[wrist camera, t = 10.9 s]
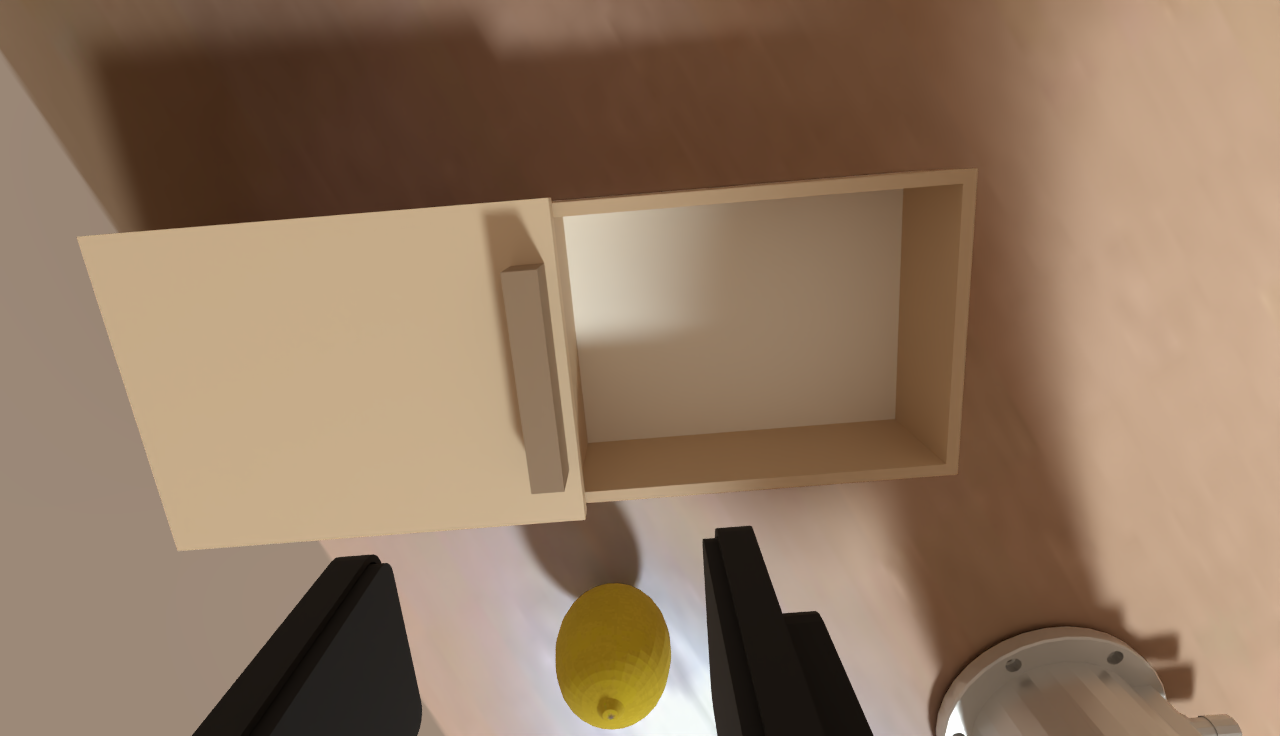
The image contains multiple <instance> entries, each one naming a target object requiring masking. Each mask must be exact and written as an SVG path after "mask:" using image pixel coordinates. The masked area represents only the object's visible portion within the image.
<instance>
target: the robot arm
mask: <svg viewBox="0 0 1280 736" xmlns="http://www.w3.org/2000/svg"><path fill="white" fill-rule="evenodd" d="M703 560H704V577H705V594H706V611H707V628H708V645H709V662H710V679H711V692H712V701H713V709H714V716H715V722H716V729H717V735H718V736H873V733H872V731H871V729H870V727H869V724H868V722H867V720H866V717H865V715H864V713H863V711H862V708H861V706H860V704H859V701H858V699H857V697H856V695H855V692H854V690H853V688H852V685H851V683H850V681H849V679H848V676H847V674H846V672H845V669H844V667H843V665H842V663H841V660H840V658H839V656H838V653H837V651H836V649H835V647H834V644H833V642H832V640H831V637H830V635H829V633H828V631H827V628H826V626H825V624H824V621H823V620H822V618H821V616H820V614H819V613H818V612H816V611H810V612H797V613H783V614H782V611H781V608H780V605H779V602H778V600H777V597H776V594H775V591H774V588H773V585H772V582H771V580H770V577H769V574H768V571H767V568H766V565H765V562H764V560H763V557H762V554H761V551H760V548H759V545H758V542H757V539H756V537H755V534H754V531H753V528H752V526H741V527H728V528H716V529H715V538H710V539H703ZM421 717H422V705H421V699H420V694H419V690H418V685H417V680H416V676H415V671H414V667H413V662H412V657H411V653H410V648H409V643H408V639H407V634H406V630H405V625H404V620H403V616H402V611H401V606H400V602H399V597H398V593H397V588H396V583H395V579H394V574H393V570H392V568H391V566H390V564H388V563H382V564H381V561H380V559H379V558H378V556H376V555H361V556H348V557H338V558H335V559H334V560H333V561H332V562H331V563H330V564H329V565H328V567H327V568H326V569H325V570H324V572H323V573H322V574H321V576H320V577H319V578H318V579H317V580H316V582H315V583H314V584H313V586H312V587H311V588H310V589H309V590H308V592H307V593H306V594H305V595H304V597H303V598H302V599H301V600H300V602H299V603H298V604H297V605H296V607H295V608H294V609H293V610H292V612H291V613H290V614H289V615H288V617H287V618H286V619H285V620H284V622H283V623H282V624H281V625H280V627H279V628H278V629H277V630H276V631H275V633H274V634H273V635H272V636H271V638H270V639H269V640H268V641H267V643H266V644H265V645H264V646H263V648H262V649H261V650H260V651H259V653H258V654H257V655H256V656H255V658H254V659H253V660H252V661H251V663H250V664H249V665H248V666H247V668H246V669H245V670H244V672H243V673H242V674H241V675H240V677H239V678H238V679H237V680H236V681H235V683H234V684H233V685H232V686H231V688H230V689H229V690H228V691H227V693H226V694H225V695H224V696H223V697H222V699H221V700H220V701H219V703H218V704H217V705H216V706H215V708H214V709H213V710H212V711H211V713H210V714H209V715H208V716H207V718H206V719H205V720H204V721H203V722H202V724H201V725H200V726H199V728H198V729H197V730H196V731H195V733H194V734H193V735H192V736H417V734H418V732H419V729H420V724H421ZM936 736H1242V732H1241V729H1240V727H1239V725H1238V724H1237V723H1236V721H1235V720H1234V719H1233V718H1232V717H1230V716H1228V715H1227V714H1220V715H1206V716H1198V717H1197V718H1188V717H1187V716H1185V715H1183V714H1181V713H1179V712H1178V711H1177V710H1176V709H1175V708H1174V707H1173V706H1172V705H1171V704H1170V703H1169V702H1168V701H1167V699H1166V694H1165V690H1164V686H1163V684H1162V682H1161V680H1160V678H1159V677H1158V675H1157V673H1156V671H1155V670H1154V669H1153V668H1152V667H1151V666H1150V664H1149V663H1148V662H1147V661H1146V660H1145V659H1144V658H1143V657H1142V656H1141V655H1139V654H1138V653H1137V652H1136V651H1135V650H1134V649H1132V648H1131V647H1130V646H1129V645H1128V644H1126V643H1125V642H1124V641H1122V640H1120V639H1118V638H1116V637H1114V636H1112V635H1110V634H1108V633H1104V632H1100V631H1097V630H1093V629H1090V628H1081V627H1069V626H1065V627H1052V628H1043V629H1039V630H1035V631H1030V632H1026V633H1022V634H1020V635H1017V636H1015V637H1012V638H1010V639H1007V640H1005V641H1002V642H1000V643H999V644H997V645H995V646H994V647H992V648H990V649H988V650H987V651H985V652H983V653H982V654H981V655H980V656H978V657H977V658H976V659H975V660H974V661H972V662H971V663H970V664H969V665H967V667H966V668H965V669H964V670H963V671H962V672H961V673H960V674H959V676H958V677H957V678H956V679H955V680H954V681H953V683H952V685H951V686H950V688H949V690H948V691H947V693H946V695H945V696H944V698H943V701H942V704H941V707H940V710H939V712H938V717H937V725H936Z"/></svg>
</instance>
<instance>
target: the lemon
mask: <svg viewBox="0 0 1280 736" xmlns="http://www.w3.org/2000/svg"><path fill="white" fill-rule="evenodd" d="M670 662H671V648H670V637H669V632H668V628H667V625H666V623H665V620H664V618H663V615H662V613H661V611H660V609H659V608H658V607H657V606H656V604H655V603H654V602H653V600H652V599H651V598H650V597H649V596H647V595H646V594H645V593H643V592H642V591H641V590H639V589H637V588H635V587H632V586H630V585H626V584H621V583H607V584H603V585H599V586H596V587H594V588H592V589H590V590H588V591H587V592H585V593H584V594H583V595H581V596H580V597H579V598H578V599H577V600H576V601H575V602H574V603H573V605H572V606H571V608H570V609H569V611H568V612H567V614H566V615H565V617H564V619H563V621H562V624H561V627H560V631H559V634H558V637H557V642H556V673H557V679H558V683H559V686H560V689H561V693H562V695H563V698H564V700H565V701H566V703H567V704H568V706H569V707H570V709H571V710H572V711H573V712H574V713H575V714H576V715H577V716H578V717H579V718H580V719H582V720H583V721H585V722H587V723H588V724H590V725H592V726H595V727H598V728H602V729H620V728H625V727H628V726H631V725H633V724H635V723H637V722H638V721H640V720H641V719H643V718H645V717H646V716H647V715H648V714H649V713H650V712H651V711H652V709H653V708H654V707H655V706H656V704H657V702H658V701H659V699H660V697H661V695H662V693H663V691H664V689H665V686H666V682H667V678H668V673H669V668H670Z"/></svg>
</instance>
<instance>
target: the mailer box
mask: <svg viewBox="0 0 1280 736" xmlns="http://www.w3.org/2000/svg"><path fill="white" fill-rule="evenodd" d="M977 178H978V168H967V169H948V170H929V171H910V172H897V173H885V174H873V175H860V176H848V177H836V178H824V179H812V180H800V181H788V182H776V183H764V184H752V185H739V186H727V187H715V188H703V189H691V190H679V191H667V192H655V193H643V194H630V195H618V196H606V197H594V198H582V199H570V200H558V201H552V210H553V219H554V227H555V236H556V245H557V254H558V262H559V271H560V280H561V288H562V297H563V306H564V315H565V323H566V332H567V341H568V350H569V358H570V367H571V376H572V384H573V393H574V402H575V411H576V419H577V428H578V437H579V446H580V454H581V463H582V472H583V480H584V489H585V498H586V503H595V502H608V501H621V500H634V499H647V498H660V497H673V496H686V495H699V494H712V493H725V492H738V491H751V490H765V489H778V488H791V487H804V486H817V485H830V484H843V483H856V482H869V481H882V480H895V479H908V478H921V477H934V476H947V475H958V464H959V449H960V434H961V419H962V404H963V389H964V373H965V358H966V343H967V328H968V313H969V298H970V283H971V268H972V253H973V238H974V223H975V208H976V193H977Z"/></svg>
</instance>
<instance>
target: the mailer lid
mask: <svg viewBox="0 0 1280 736" xmlns="http://www.w3.org/2000/svg"><path fill="white" fill-rule="evenodd" d="M77 240H78V243H79V246H80V249H81V252H82V255H83V258H84V261H85V264H86V268H87V271H88V274H89V277H90V280H91V283H92V286H93V289H94V292H95V296H96V299H97V302H98V305H99V308H100V311H101V314H102V317H103V320H104V323H105V327H106V330H107V333H108V336H109V339H110V342H111V345H112V348H113V352H114V355H115V358H116V361H117V364H118V367H119V370H120V373H121V376H122V379H123V382H124V386H125V389H126V392H127V395H128V398H129V401H130V404H131V407H132V410H133V414H134V417H135V420H136V423H137V426H138V429H139V432H140V435H141V438H142V442H143V445H144V448H145V451H146V454H147V457H148V460H149V463H150V466H151V469H152V473H153V476H154V479H155V482H156V485H157V488H158V491H159V494H160V497H161V501H162V504H163V507H164V510H165V513H166V516H167V519H168V522H169V525H170V529H171V532H172V535H173V538H174V541H175V544H176V547H177V550H178V551H185V550H198V549H211V548H224V547H238V546H251V545H264V544H277V543H289V542H303V541H316V540H329V539H342V538H355V537H368V536H381V535H394V534H407V533H420V532H433V531H446V530H459V529H473V528H486V527H499V526H512V525H525V524H538V523H551V522H564V521H577V520H586V513H587V507H586V498H585V489H584V480H583V472H582V463H581V454H580V446H579V437H578V428H577V419H576V411H575V402H574V393H573V384H572V376H571V367H570V358H569V350H568V341H567V332H566V323H565V315H564V306H563V297H562V288H561V280H560V271H559V262H558V254H557V245H556V236H555V227H554V219H553V210H552V201H551V197H550V198H538V199H526V200H514V201H502V202H490V203H477V204H465V205H453V206H441V207H429V208H417V209H405V210H393V211H381V212H369V213H356V214H344V215H332V216H320V217H308V218H296V219H284V220H272V221H260V222H248V223H235V224H223V225H211V226H199V227H187V228H175V229H163V230H151V231H139V232H127V233H115V234H102V235H91V236H80V237H77Z"/></svg>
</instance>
